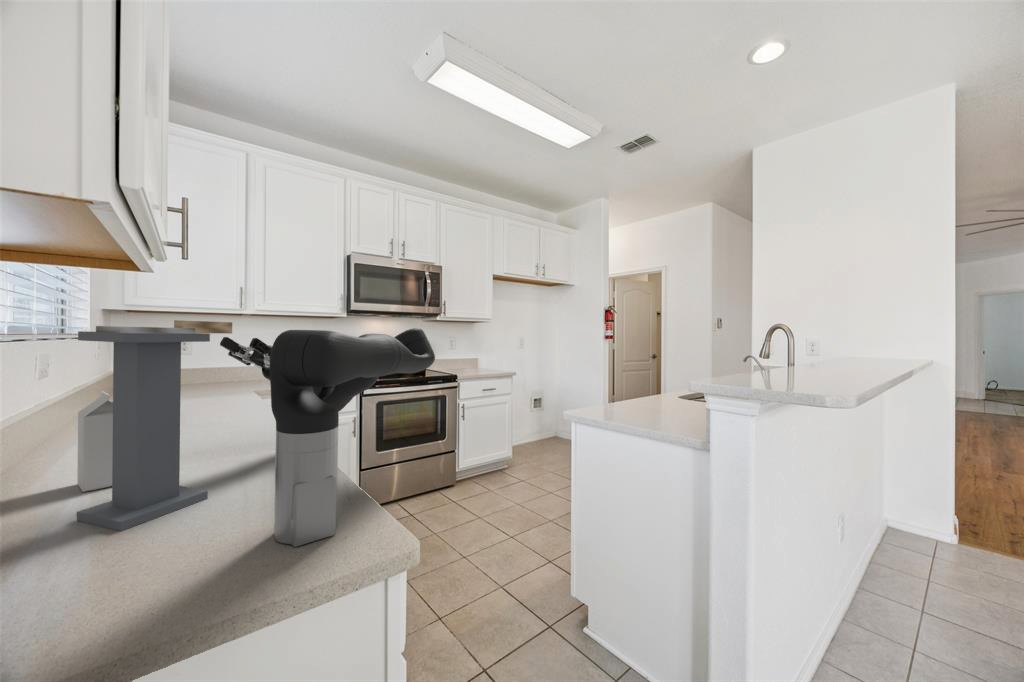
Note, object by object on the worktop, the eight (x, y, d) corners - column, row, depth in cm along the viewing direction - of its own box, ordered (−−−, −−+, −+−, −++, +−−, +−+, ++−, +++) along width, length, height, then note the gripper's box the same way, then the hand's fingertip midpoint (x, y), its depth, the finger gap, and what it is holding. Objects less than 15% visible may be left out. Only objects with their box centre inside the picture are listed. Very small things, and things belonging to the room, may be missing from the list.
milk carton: (82, 493, 81) (83, 396, 80) (77, 484, 85) (77, 392, 85) (131, 483, 86) (132, 393, 86) (123, 475, 91) (124, 389, 90)
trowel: (217, 333, 89) (217, 321, 89) (238, 333, 88) (238, 322, 88) (95, 331, 69) (96, 317, 69) (120, 332, 67) (120, 318, 67)
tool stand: (167, 490, 83) (168, 332, 82) (207, 498, 80) (209, 333, 79) (76, 520, 69) (78, 331, 69) (121, 531, 66) (123, 333, 66)
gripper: (272, 358, 108) (221, 325, 94) (316, 360, 104) (270, 327, 90) (259, 384, 104) (204, 354, 91) (304, 388, 100) (254, 357, 87)
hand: (237, 341), depth 91 cm, fingers open, 8 cm apart
